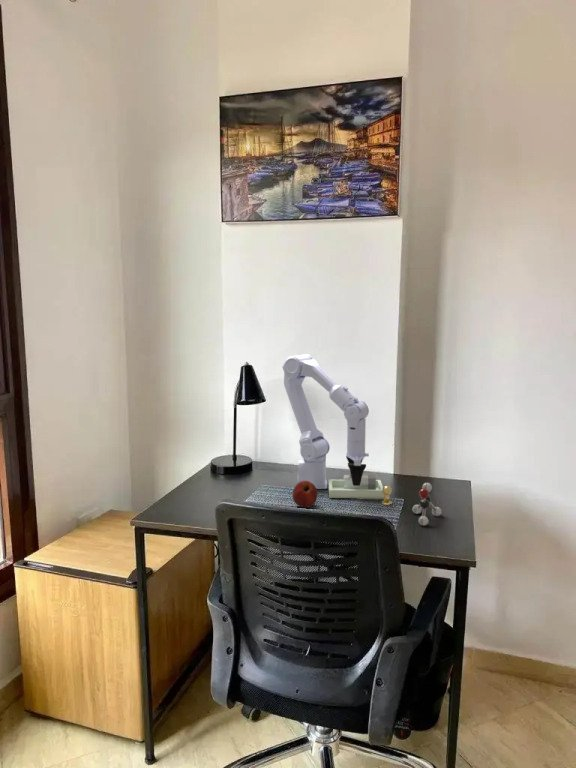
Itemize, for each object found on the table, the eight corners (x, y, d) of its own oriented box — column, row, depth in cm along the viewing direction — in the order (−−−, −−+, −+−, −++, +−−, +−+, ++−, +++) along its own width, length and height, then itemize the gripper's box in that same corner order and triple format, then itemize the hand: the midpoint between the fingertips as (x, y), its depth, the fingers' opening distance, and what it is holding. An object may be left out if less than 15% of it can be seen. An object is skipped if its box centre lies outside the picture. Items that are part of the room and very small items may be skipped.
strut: (344, 493, 187) (344, 478, 186) (343, 489, 191) (343, 474, 190) (375, 493, 186) (376, 478, 186) (374, 489, 190) (374, 474, 189)
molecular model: (441, 514, 170) (442, 479, 168) (438, 530, 159) (439, 492, 157) (412, 511, 173) (413, 476, 171) (407, 526, 161) (408, 488, 160)
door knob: (382, 505, 178) (382, 487, 177) (381, 502, 180) (381, 484, 180) (392, 505, 177) (392, 487, 177) (390, 502, 180) (391, 484, 180)
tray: (329, 498, 184) (329, 490, 183) (328, 487, 195) (328, 479, 194) (384, 499, 183) (384, 490, 182) (380, 488, 194) (380, 479, 193)
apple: (291, 510, 173) (291, 484, 172) (293, 501, 181) (293, 476, 180) (316, 511, 173) (317, 484, 172) (317, 502, 181) (317, 477, 180)
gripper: (371, 445, 179) (370, 488, 181) (366, 434, 193) (366, 474, 195) (347, 445, 179) (347, 488, 181) (345, 434, 194) (344, 474, 195)
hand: (355, 481), depth 188 cm, fingers open, 7 cm apart
